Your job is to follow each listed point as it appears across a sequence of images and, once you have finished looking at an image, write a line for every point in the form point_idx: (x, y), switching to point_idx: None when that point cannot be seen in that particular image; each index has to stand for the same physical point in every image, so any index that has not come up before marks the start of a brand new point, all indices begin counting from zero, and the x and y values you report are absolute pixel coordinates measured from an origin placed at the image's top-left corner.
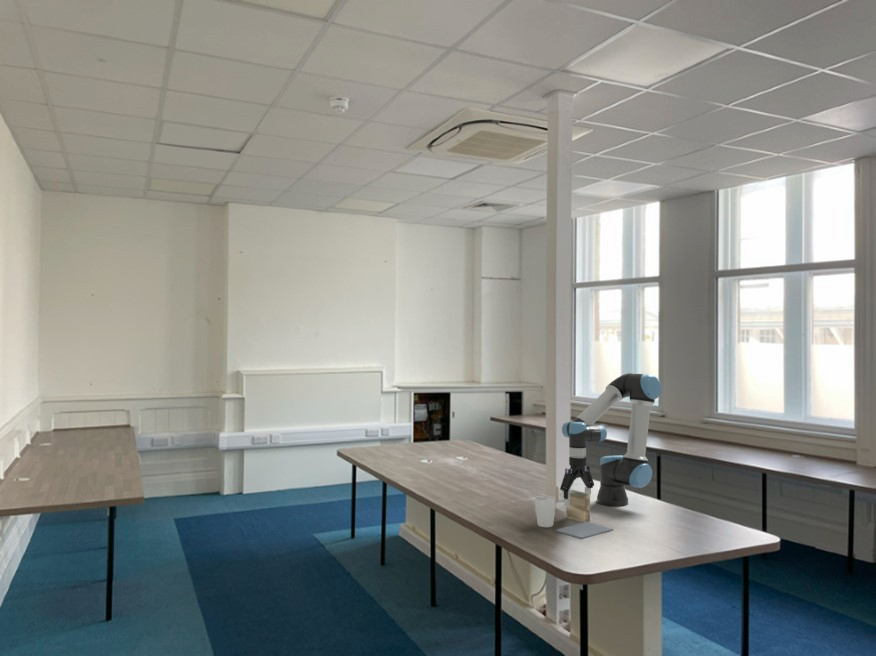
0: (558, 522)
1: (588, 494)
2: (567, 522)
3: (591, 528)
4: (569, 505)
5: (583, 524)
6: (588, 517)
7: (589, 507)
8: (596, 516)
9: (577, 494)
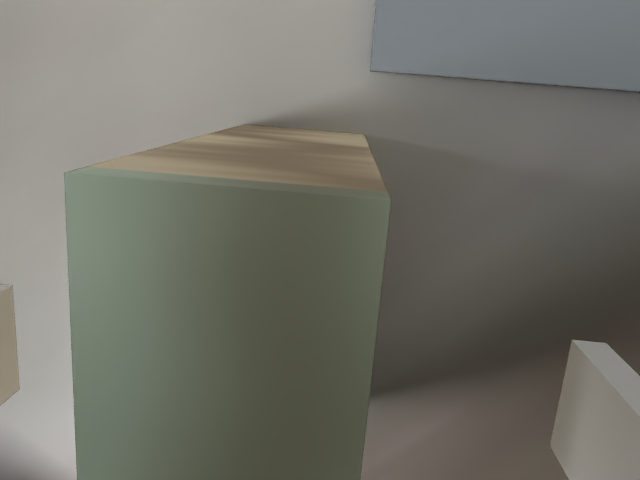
0: None
1: (127, 173)
2: (522, 271)
3: None
4: (596, 351)
5: (531, 19)
6: (261, 128)
7: (199, 138)
8: (8, 191)
9: (364, 435)
